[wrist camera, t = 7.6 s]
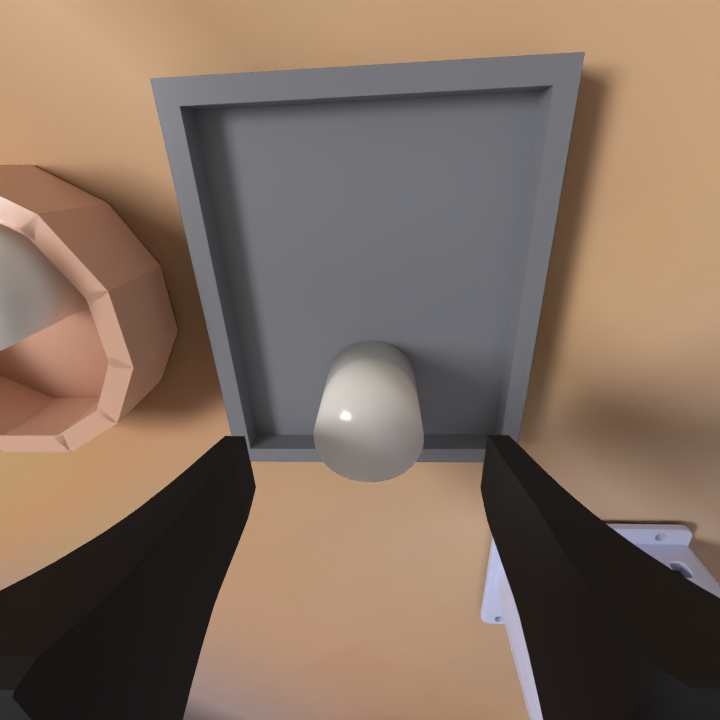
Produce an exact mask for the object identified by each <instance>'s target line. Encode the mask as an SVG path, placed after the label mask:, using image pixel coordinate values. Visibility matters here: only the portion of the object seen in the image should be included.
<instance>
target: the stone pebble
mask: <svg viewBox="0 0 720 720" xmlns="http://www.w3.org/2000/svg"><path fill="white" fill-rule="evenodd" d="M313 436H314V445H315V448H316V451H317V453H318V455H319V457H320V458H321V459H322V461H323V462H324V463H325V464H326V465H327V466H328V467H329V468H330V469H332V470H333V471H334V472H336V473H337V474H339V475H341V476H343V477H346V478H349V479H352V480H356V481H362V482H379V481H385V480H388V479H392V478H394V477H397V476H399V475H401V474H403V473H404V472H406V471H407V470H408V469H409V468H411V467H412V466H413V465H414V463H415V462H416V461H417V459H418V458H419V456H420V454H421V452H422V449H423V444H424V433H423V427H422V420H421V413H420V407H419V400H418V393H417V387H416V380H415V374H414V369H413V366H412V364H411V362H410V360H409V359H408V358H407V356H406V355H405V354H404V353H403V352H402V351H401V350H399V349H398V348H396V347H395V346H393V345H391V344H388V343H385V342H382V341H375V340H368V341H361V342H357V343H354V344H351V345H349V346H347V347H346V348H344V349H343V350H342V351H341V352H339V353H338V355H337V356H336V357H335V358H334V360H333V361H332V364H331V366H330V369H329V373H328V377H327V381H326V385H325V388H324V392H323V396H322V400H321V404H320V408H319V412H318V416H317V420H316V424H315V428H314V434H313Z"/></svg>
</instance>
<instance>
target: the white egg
mask: <svg viewBox="0 0 720 720" xmlns="http://www.w3.org/2000/svg"><path fill="white" fill-rule="evenodd" d="M87 307H89V305H88V303H87V300H86V298H85V297H84V296H83V295H82V294H81V293H80V292H79V291H78V290H77V289H76V288H75V286H74V285H73V284H72V283H71V282H70V281H69V280H68V279H67V278H66V277H65V276H64V275H63V274H62V273H61V272H60V271H59V270H58V269H57V267H56V266H55V265H54V264H53V263H52V262H51V261H50V260H49V259H48V258H47V257H46V256H45V255H44V254H43V253H42V252H41V251H40V250H39V248H38V247H37V246H36V245H35V244H34V243H33V242H32V241H31V240H30V239H29V238H28V237H27V236H26V235H23V234H21V233H19V232H17V231H15V230H13V229H11V228H9V227H7V226H5V225H2V224H0V351H2V350H4V349H6V348H8V347H10V346H12V345H14V344H16V343H17V342H19V341H21V340H23V339H25V338H27V337H29V336H31V335H33V334H35V333H37V332H39V331H41V330H43V329H45V328H47V327H49V326H51V325H53V324H55V323H57V322H59V321H61V320H63V319H65V318H67V317H69V316H71V315H73V314H75V313H77V312H79V311H81V310H83V309H85V308H87Z"/></svg>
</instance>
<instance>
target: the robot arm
mask: <svg viewBox="0 0 720 720" xmlns="http://www.w3.org/2000/svg"><path fill="white" fill-rule="evenodd" d="M255 488H256V486H255V481H254V476H253V472H252V467H251V462H250V457H249V453H248V448H247V443H246V439H245V436H225V437H224V438H222V439H221V440H220V441H219V442H218V443H216V444H215V445H214V446H213V447H212V448H211V449H210V450H208V451H207V452H206V453H205V454H204V455H203V456H202V457H200V458H199V459H198V460H197V461H196V462H195V463H194V464H192V465H191V466H190V467H189V468H188V469H187V470H185V471H184V472H183V473H182V474H181V475H180V476H178V477H177V478H176V479H175V480H174V481H173V482H171V483H170V484H169V485H168V486H166V487H165V488H164V489H162V490H161V491H160V492H159V493H157V494H156V495H155V496H154V497H152V498H151V499H150V500H149V501H147V502H146V503H145V504H143V505H142V506H141V507H140V508H138V509H137V510H135V511H134V512H133V513H131V514H130V515H128V516H127V517H126V518H124V519H123V520H121V521H120V522H118V523H117V524H115V525H114V526H112V527H111V528H110V529H108V530H107V531H105V532H104V533H102V534H100V535H99V536H97V537H96V538H94V539H92V540H91V541H89V542H87V543H86V544H84V545H82V546H81V547H79V548H77V549H76V550H74V551H72V552H71V553H69V554H67V555H66V556H64V557H62V558H61V559H59V560H57V561H56V562H54V563H52V564H50V565H48V566H47V567H45V568H43V569H41V570H39V571H37V572H36V573H34V574H32V575H30V576H28V577H26V578H24V579H22V580H20V581H18V582H16V583H14V584H13V585H11V586H9V587H7V588H5V589H3V590H1V591H0V720H183V717H184V713H185V709H186V705H187V701H188V696H189V692H190V688H191V685H192V681H193V677H194V674H195V670H196V666H197V663H198V659H199V655H200V651H201V648H202V644H203V641H204V637H205V634H206V631H207V627H208V624H209V620H210V617H211V614H212V610H213V607H214V604H215V601H216V599H217V596H218V593H219V590H220V588H221V585H222V583H223V580H224V578H225V575H226V573H227V570H228V568H229V565H230V563H231V560H232V558H233V555H234V553H235V550H236V548H237V545H238V543H239V540H240V537H241V535H242V532H243V530H244V527H245V525H246V522H247V519H248V516H249V512H250V508H251V505H252V501H253V496H254V492H255ZM481 492H482V497H483V502H484V507H485V512H486V516H487V521H488V524H489V527H490V530H491V533H492V541H491V548H490V554H489V561H488V567H487V574H486V580H485V587H484V593H483V599H482V606H481V612H480V613H481V618H482V620H483V621H484V622H486V623H490V624H505V627H506V631H507V635H508V638H509V642H510V646H511V650H512V653H513V657H514V661H515V665H516V669H517V672H518V676H519V680H520V684H521V688H522V691H523V695H524V699H525V703H526V707H527V710H528V714H529V718H530V720H720V585H719V584H718V583H717V582H716V580H715V579H714V578H713V577H712V575H711V574H710V573H709V571H708V570H707V569H706V568H705V566H704V565H703V564H702V563H701V561H700V560H699V559H698V558H697V556H696V555H695V554H694V553H693V551H692V550H691V549H690V548H689V546H688V545H689V543H690V541H691V538H692V535H693V534H692V532H691V531H690V530H689V528H688V527H687V526H685V525H677V524H606V523H604V522H603V521H602V520H600V519H599V518H598V517H597V516H595V515H594V514H593V513H592V512H590V511H589V510H588V509H587V508H586V507H584V506H583V505H582V504H581V503H580V502H579V501H577V500H576V499H575V498H574V497H573V496H571V495H570V494H569V493H568V492H567V491H566V490H565V489H564V488H562V487H561V486H560V485H559V484H558V483H557V482H556V481H555V480H554V479H553V478H552V477H551V476H550V475H549V474H547V473H546V472H545V471H544V470H543V469H542V468H541V467H540V466H539V465H538V464H537V463H536V462H535V461H534V460H533V459H532V458H531V457H530V456H529V455H528V454H527V453H526V452H525V451H524V450H523V449H522V448H521V447H520V446H519V445H518V444H517V443H516V442H515V441H514V440H513V439H512V438H511V437H510V436H509V435H487V442H486V450H485V458H484V466H483V473H482V481H481Z"/></svg>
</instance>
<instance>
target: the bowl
mask: <svg viewBox="0 0 720 720" xmlns="http://www.w3.org/2000/svg"><path fill="white" fill-rule="evenodd" d="M0 224H2V225H5V226H7V227H9V228H11V229H13V230H15V231H17V232H19V233H21V234H23V235H26V236H27V237H28V238H29V239H30V240H31V241H32V242H33V243H34V244H35V245H36V246H37V247H38V248H39V250H40V251H41V252H42V253H43V254H44V255H45V256H46V257H47V258H48V259H49V260H50V261H51V262H52V263H53V264H54V265H55V266H56V267H57V269H58V270H59V271H60V272H61V273H62V274H63V275H64V276H65V277H66V278H67V279H68V280H69V281H70V282H71V283H72V284H73V285H74V286H75V288H76V289H77V290H78V291H79V292H80V293H81V294H82V295H83V296H84V297H85V298H86V300H87V303H88V305H89V307H87V308H85V309H83V310H81V311H79V312H77V313H75V314H73V315H71V316H69V317H67V318H65V319H63V320H61V321H59V322H57V323H55V324H53V325H51V326H49V327H47V328H45V329H43V330H41V331H39V332H37V333H35V334H33V335H31V336H29V337H27V338H25V339H23V340H21V341H19V342H17V343H16V344H14V345H12V346H10V347H8V348H6V349H4V350H2V351H0V450H2V451H5V452H72V451H74V450H75V449H77V448H78V447H80V446H82V445H83V444H85V443H87V442H88V441H90V440H91V439H93V438H95V437H96V436H98V435H100V434H101V433H103V432H104V431H106V430H108V429H109V428H111V427H113V426H114V425H116V424H117V423H119V422H120V421H121V420H122V419H123V418H124V417H125V416H126V415H127V414H128V413H129V412H130V411H131V410H132V409H133V408H134V407H135V406H136V405H137V404H138V403H139V402H140V401H141V400H142V399H143V398H144V397H145V396H146V395H147V394H148V393H149V392H150V391H151V390H152V389H153V388H154V387H155V386H156V385H157V384H158V383H159V382H160V381H161V380H162V377H163V374H164V371H165V368H166V365H167V362H168V359H169V356H170V353H171V350H172V347H173V344H174V341H175V338H176V335H177V332H178V329H177V325H176V321H175V317H174V314H173V310H172V306H171V302H170V299H169V295H168V291H167V287H166V283H165V280H164V276H163V272H162V268H161V266H160V265H159V263H158V262H157V261H156V260H155V259H154V257H153V256H152V255H151V254H150V253H149V251H148V250H147V249H146V248H145V247H144V245H143V244H142V243H141V242H140V241H139V240H138V238H137V237H136V236H135V235H134V234H133V232H132V231H131V230H130V229H129V228H128V226H127V225H126V224H125V223H124V222H123V220H122V219H121V218H120V217H119V216H118V214H117V213H116V212H115V211H114V210H113V208H112V207H111V206H110V205H109V203H107V202H105V201H103V200H101V199H99V198H97V197H95V196H93V195H91V194H89V193H87V192H85V191H83V190H81V189H79V188H77V187H75V186H73V185H71V184H69V183H67V182H65V181H63V180H61V179H59V178H57V177H55V176H53V175H51V174H49V173H47V172H45V171H43V170H41V169H39V168H37V167H35V166H33V165H0Z"/></svg>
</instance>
